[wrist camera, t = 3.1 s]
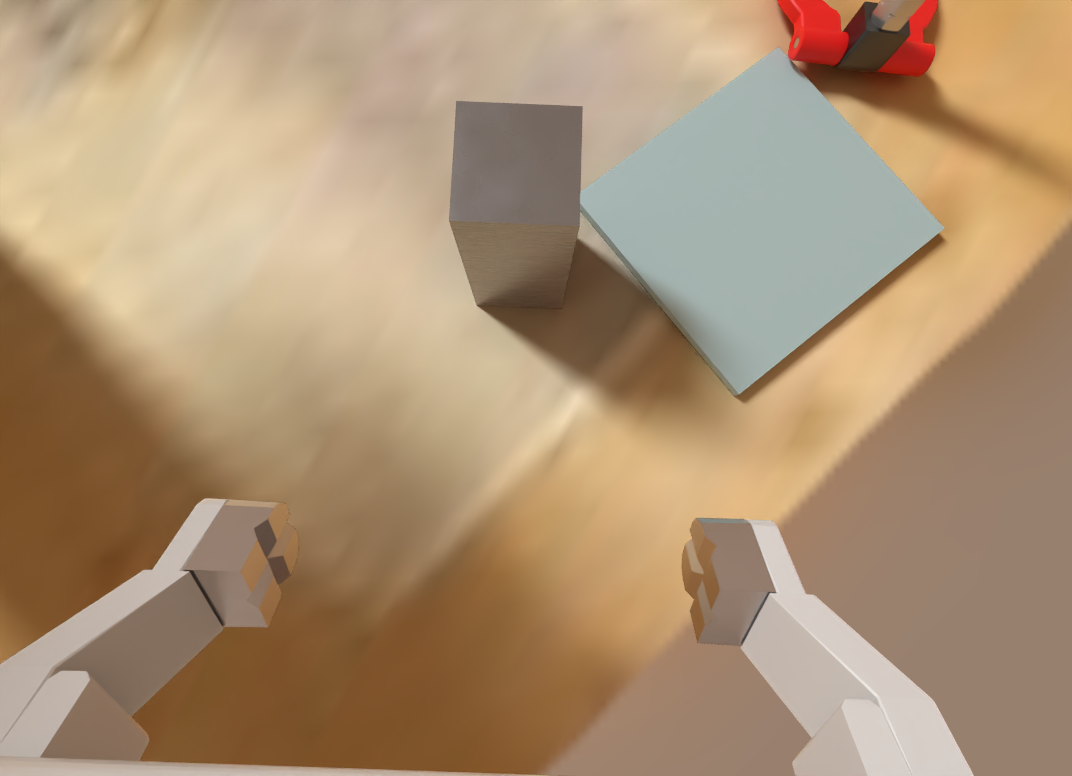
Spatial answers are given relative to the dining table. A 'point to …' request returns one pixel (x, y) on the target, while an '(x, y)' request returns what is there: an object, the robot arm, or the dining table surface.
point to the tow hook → (863, 36)
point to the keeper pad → (757, 219)
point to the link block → (516, 200)
